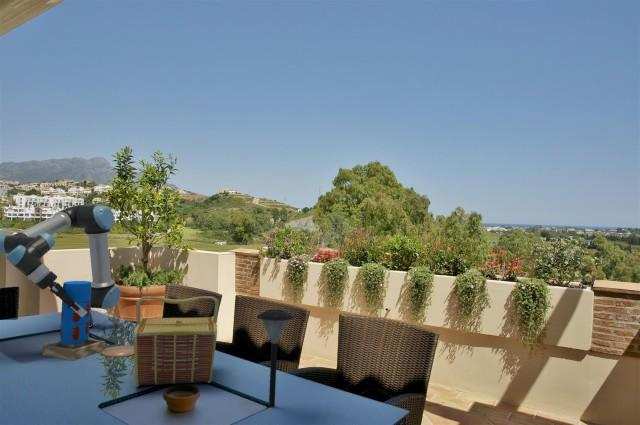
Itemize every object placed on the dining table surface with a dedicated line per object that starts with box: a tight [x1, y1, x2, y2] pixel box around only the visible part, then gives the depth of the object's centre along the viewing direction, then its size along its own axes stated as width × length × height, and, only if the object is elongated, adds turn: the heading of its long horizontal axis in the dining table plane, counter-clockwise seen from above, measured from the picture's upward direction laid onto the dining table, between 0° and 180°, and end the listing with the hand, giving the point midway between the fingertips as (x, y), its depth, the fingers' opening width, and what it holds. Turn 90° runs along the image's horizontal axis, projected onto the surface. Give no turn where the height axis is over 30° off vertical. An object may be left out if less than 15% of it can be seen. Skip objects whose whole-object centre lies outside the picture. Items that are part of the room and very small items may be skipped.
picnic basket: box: [133, 295, 220, 388], centre depth 170 cm, size 29×26×30 cm
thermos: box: [60, 280, 92, 345], centre depth 197 cm, size 11×11×25 cm
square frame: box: [42, 338, 106, 361], centre depth 197 cm, size 16×16×4 cm
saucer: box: [101, 345, 134, 358], centre depth 201 cm, size 16×16×1 cm
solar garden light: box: [256, 309, 295, 408], centre depth 148 cm, size 12×12×30 cm
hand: (83, 312), depth 198 cm, fingers closed on thermos, 11 cm apart
